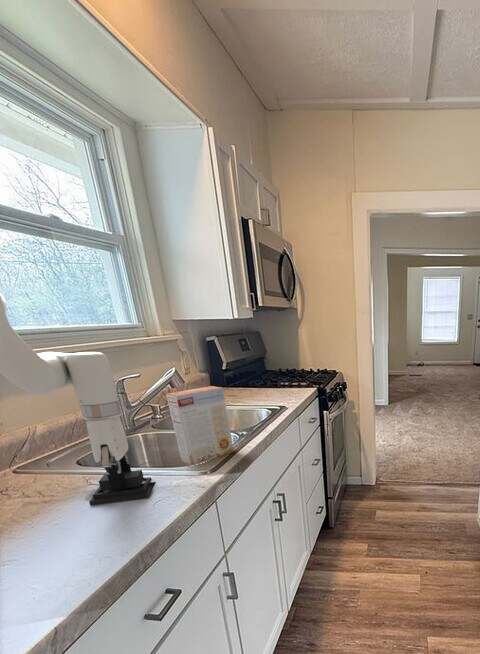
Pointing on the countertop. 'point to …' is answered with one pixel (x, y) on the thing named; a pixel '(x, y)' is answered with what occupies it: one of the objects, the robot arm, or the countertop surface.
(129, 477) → the top pad
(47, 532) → the countertop surface
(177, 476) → the countertop surface
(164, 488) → the countertop surface
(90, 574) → the countertop surface
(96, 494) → the base pad
